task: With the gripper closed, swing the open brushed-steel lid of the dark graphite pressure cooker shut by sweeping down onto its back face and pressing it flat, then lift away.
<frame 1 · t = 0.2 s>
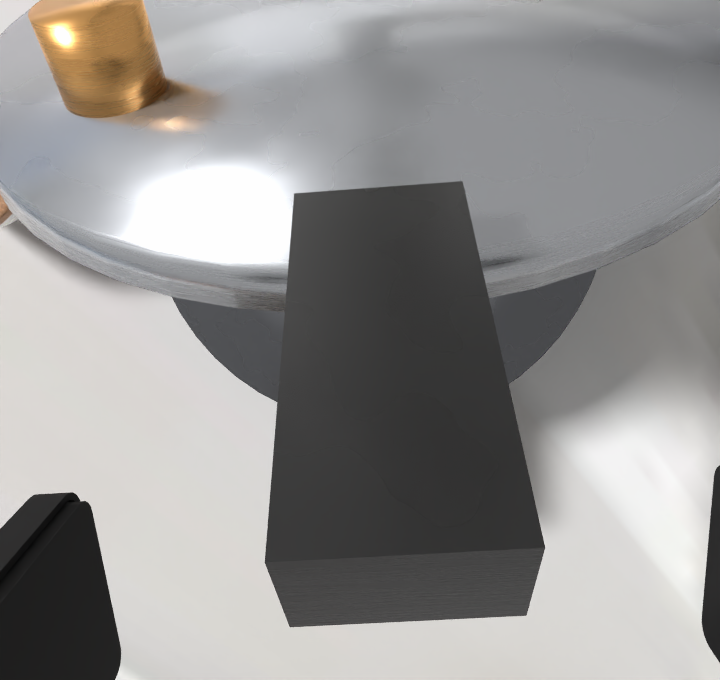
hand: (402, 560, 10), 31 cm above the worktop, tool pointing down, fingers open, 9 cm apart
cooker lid: (366, 35, 16), point 22 cm above the worktop, hinge at 60.0°
cooker pot: (376, 194, 39), on the worktop
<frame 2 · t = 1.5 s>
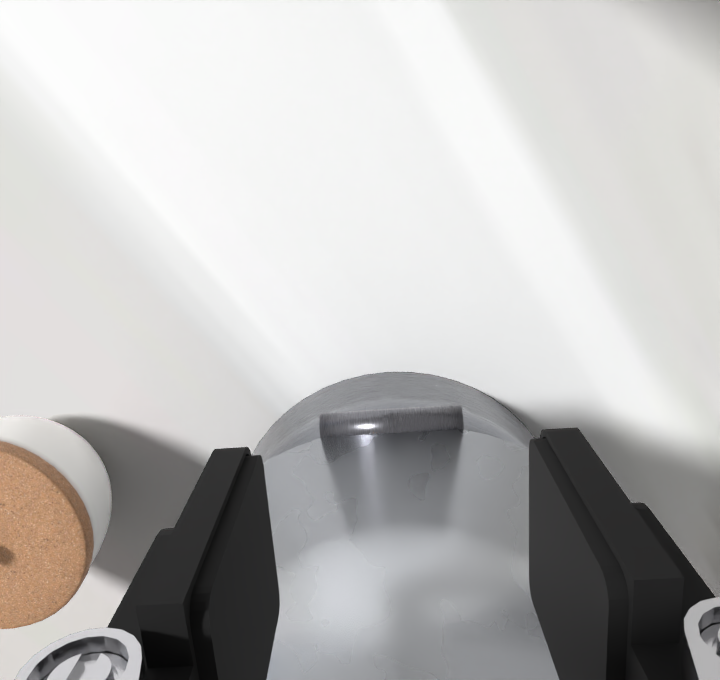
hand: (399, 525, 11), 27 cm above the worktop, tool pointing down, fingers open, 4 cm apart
lidded jar: (52, 468, 42), on the worktop
cooker pot: (397, 523, 42), on the worktop
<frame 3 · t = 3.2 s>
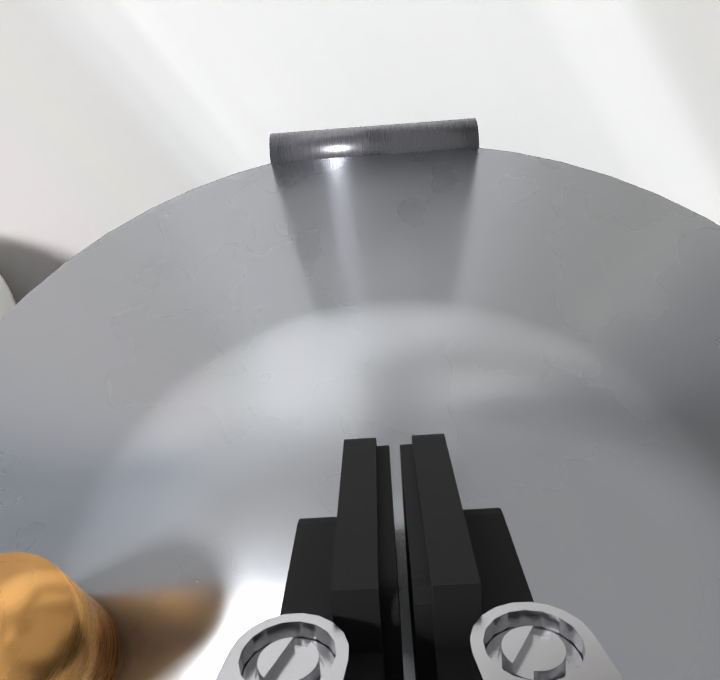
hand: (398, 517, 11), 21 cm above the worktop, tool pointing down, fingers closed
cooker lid: (402, 574, 11), point 22 cm above the worktop, hinge at 56.2°, touching gripper
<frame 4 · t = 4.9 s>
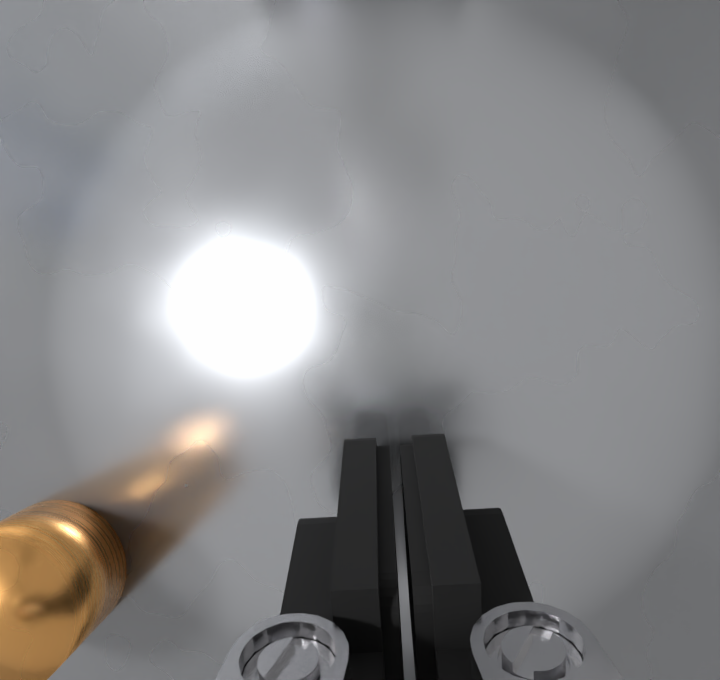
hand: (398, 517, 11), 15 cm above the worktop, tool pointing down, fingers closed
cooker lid: (397, 492, 11), point 15 cm above the worktop, hinge at 15.4°
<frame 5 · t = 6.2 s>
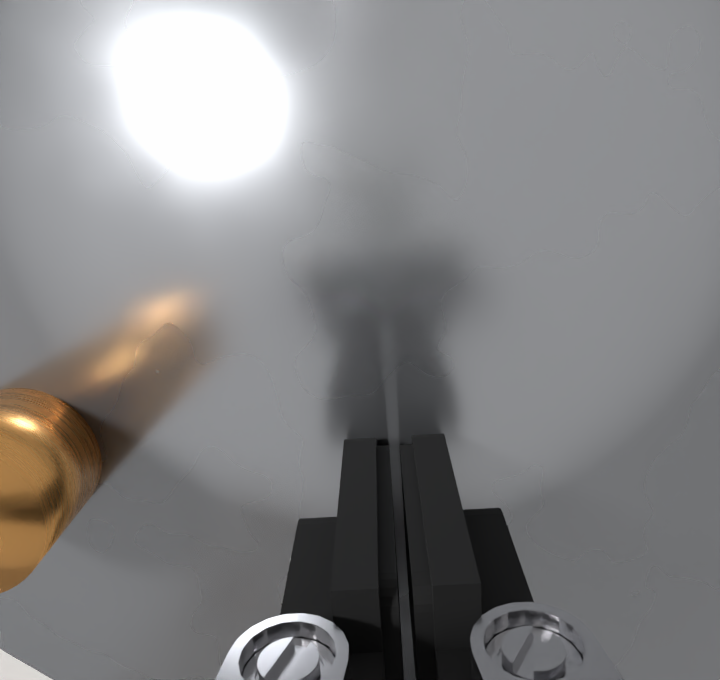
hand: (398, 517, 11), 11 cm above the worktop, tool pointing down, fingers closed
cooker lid: (390, 378, 10), point 12 cm above the worktop, hinge at 0.4°, touching gripper
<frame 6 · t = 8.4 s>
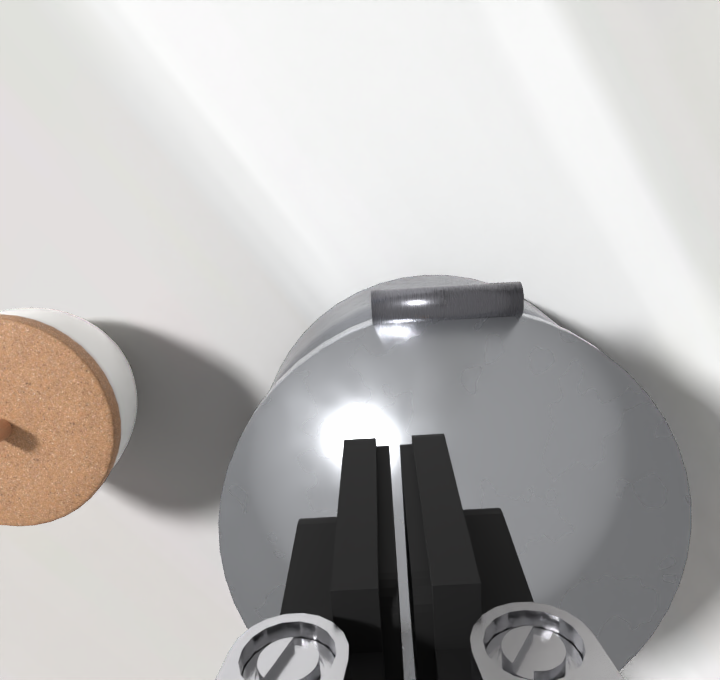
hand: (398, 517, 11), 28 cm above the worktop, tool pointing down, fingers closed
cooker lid: (455, 593, 30), point 12 cm above the worktop, hinge at 0.0°, touching cooker pot
lidded jar: (73, 378, 40), on the worktop
cooker pot: (430, 440, 40), on the worktop
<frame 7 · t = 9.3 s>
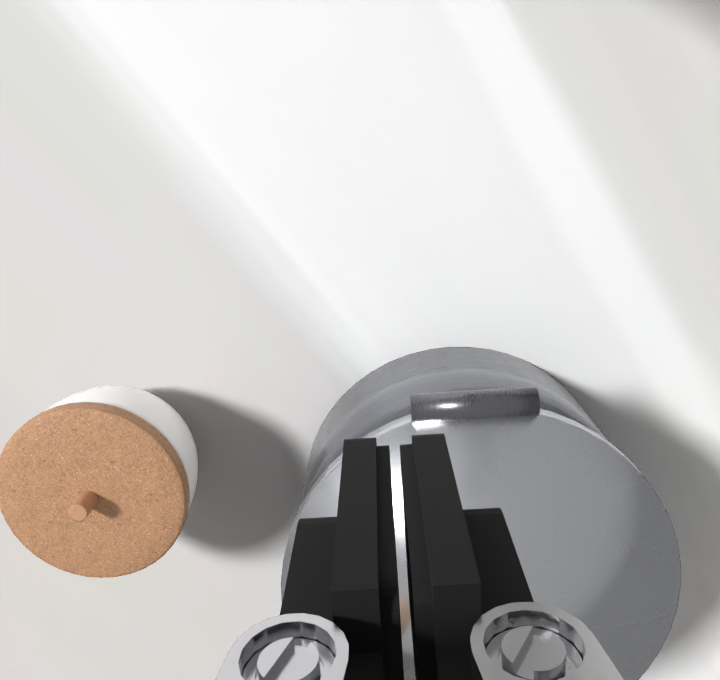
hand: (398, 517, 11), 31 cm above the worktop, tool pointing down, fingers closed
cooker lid: (481, 638, 35), point 12 cm above the worktop, hinge at 0.0°, touching cooker pot
lidded jar: (137, 436, 45), on the worktop
cooker pot: (453, 487, 46), on the worktop
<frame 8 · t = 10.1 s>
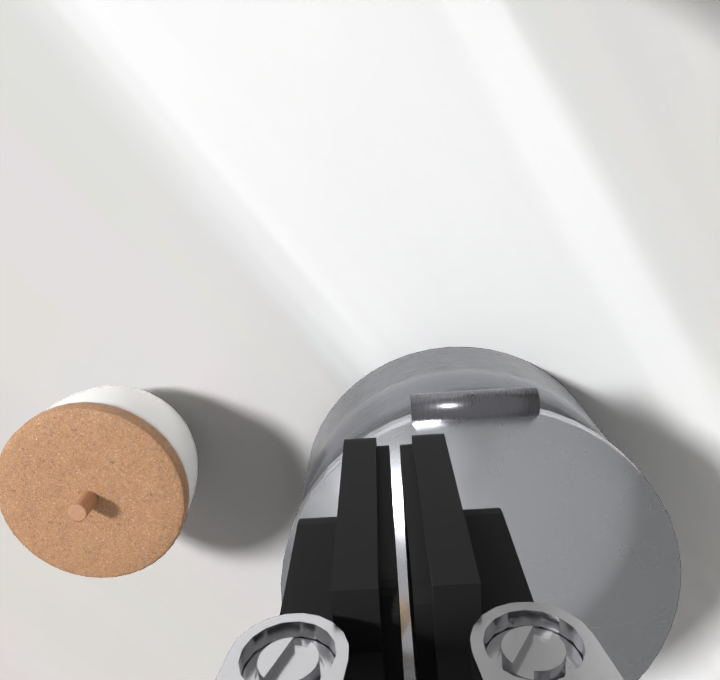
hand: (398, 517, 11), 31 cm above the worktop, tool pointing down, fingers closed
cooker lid: (481, 638, 35), point 12 cm above the worktop, hinge at 0.0°, touching cooker pot
lidded jar: (137, 436, 45), on the worktop
cooker pot: (453, 487, 46), on the worktop
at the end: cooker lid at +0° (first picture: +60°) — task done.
